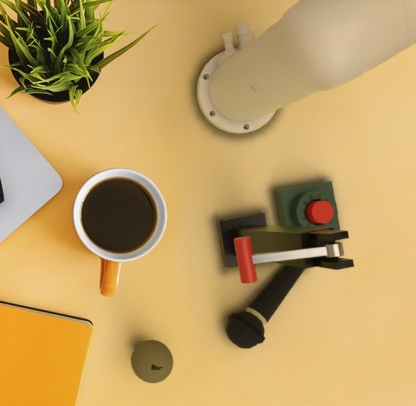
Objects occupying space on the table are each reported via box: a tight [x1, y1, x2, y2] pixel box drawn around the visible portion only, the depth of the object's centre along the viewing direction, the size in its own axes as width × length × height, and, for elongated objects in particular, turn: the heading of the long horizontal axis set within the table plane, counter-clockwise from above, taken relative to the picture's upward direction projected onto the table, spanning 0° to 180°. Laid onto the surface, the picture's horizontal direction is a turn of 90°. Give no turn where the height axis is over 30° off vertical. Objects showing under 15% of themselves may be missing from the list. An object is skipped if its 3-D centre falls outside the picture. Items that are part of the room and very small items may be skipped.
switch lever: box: [234, 237, 345, 284], centre depth 60 cm, size 5×11×2 cm, turn 100°
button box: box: [273, 180, 341, 230], centre depth 81 cm, size 8×8×4 cm
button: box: [306, 201, 334, 223], centre depth 78 cm, size 3×3×2 cm
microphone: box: [225, 265, 306, 350], centre depth 80 cm, size 6×6×20 cm
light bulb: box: [130, 339, 174, 384], centre depth 75 cm, size 6×6×10 cm
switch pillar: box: [216, 212, 355, 271], centre depth 69 cm, size 7×7×26 cm
